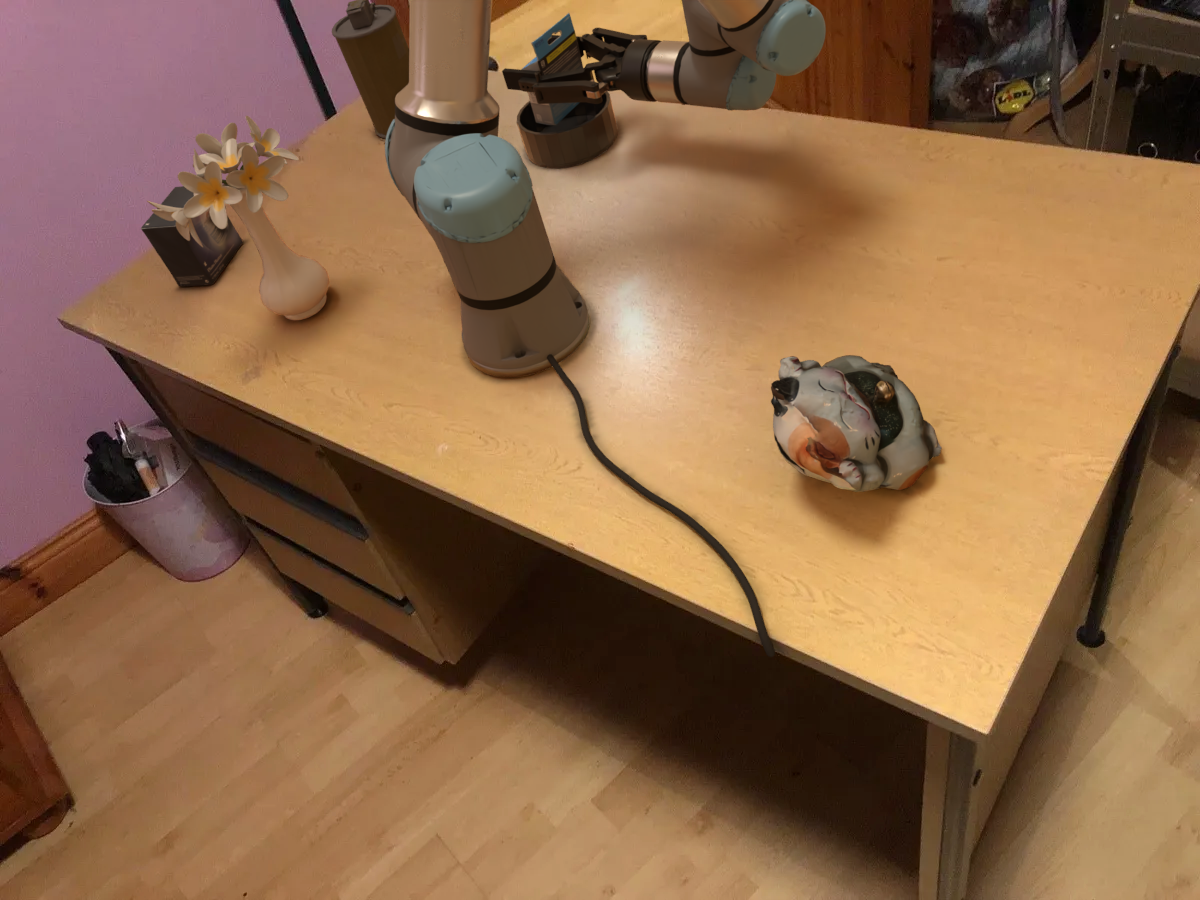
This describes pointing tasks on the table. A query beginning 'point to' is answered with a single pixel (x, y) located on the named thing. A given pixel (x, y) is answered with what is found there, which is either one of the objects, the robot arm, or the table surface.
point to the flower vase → (251, 214)
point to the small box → (192, 244)
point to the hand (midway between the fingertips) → (525, 61)
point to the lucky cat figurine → (850, 424)
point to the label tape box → (554, 67)
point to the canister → (374, 57)
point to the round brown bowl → (569, 134)
